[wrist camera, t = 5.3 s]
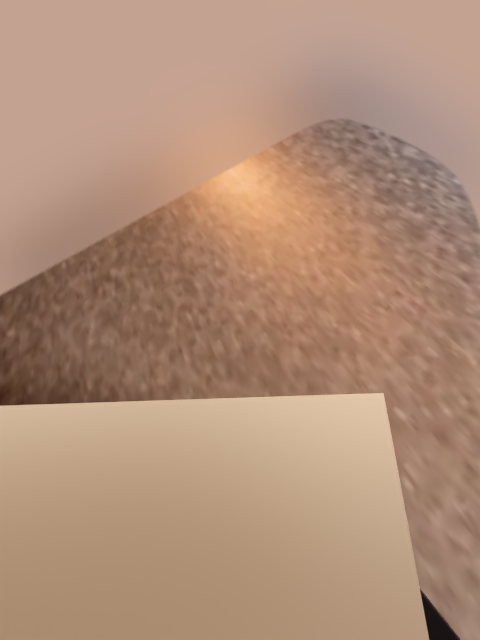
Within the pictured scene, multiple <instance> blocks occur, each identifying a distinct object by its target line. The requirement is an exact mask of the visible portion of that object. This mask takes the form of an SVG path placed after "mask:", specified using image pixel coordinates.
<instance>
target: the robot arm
mask: <svg viewBox="0 0 480 640" xmlns="http://www.w3.org/2000/svg"><path fill="white" fill-rule="evenodd" d="M420 592H421V598H422V603H423V609H424V614H425V619H426V625H427V630H428V636H429V640H460V638H459V637H458V636H457V634H456V633H455V632H454V631H453V629H452V628H451V627H450V626H449V624H448V623H447V622H446V621H445V619H444V618H443V617H442V616H441V614H440V613H439V612H438V611H437V609H436V608H435V607H434V606H433V604H432V603H431V602H430V601H429V599H428V598H427V597H426V596H425V594H424V593H423V592H422V591H421V589H420Z"/></svg>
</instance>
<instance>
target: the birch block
mask: <svg viewBox="0 0 480 640" xmlns="http://www.w3.org/2000/svg"><path fill="white" fill-rule="evenodd" d="M0 640H429V636H428V630H427V625H426V619H425V614H424V609H423V603H422V598H421V592H420V587H419V582H418V576H417V571H416V566H415V560H414V555H413V549H412V544H411V539H410V533H409V528H408V522H407V517H406V512H405V506H404V501H403V495H402V490H401V485H400V479H399V474H398V468H397V463H396V458H395V452H394V447H393V441H392V436H391V431H390V425H389V420H388V415H387V409H386V404H385V398H384V393H371V394H341V395H311V396H281V397H250V398H220V399H190V400H160V401H130V402H100V403H70V404H40V405H9V406H0Z"/></svg>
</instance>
